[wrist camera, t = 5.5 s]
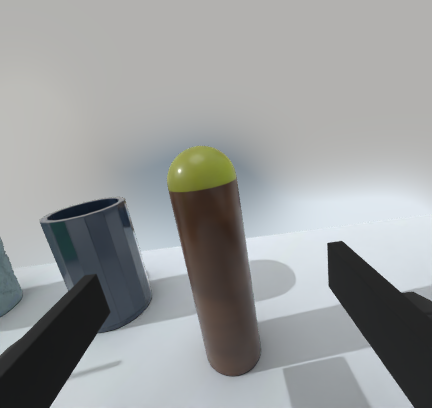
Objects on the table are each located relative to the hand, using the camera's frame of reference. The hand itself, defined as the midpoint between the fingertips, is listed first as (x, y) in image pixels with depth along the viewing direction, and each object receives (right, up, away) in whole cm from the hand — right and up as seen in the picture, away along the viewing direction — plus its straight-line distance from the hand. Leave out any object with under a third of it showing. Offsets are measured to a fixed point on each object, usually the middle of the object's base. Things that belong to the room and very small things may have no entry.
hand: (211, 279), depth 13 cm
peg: (+2, -8, +6) cm, 9 cm away
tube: (-11, -7, +13) cm, 19 cm away
